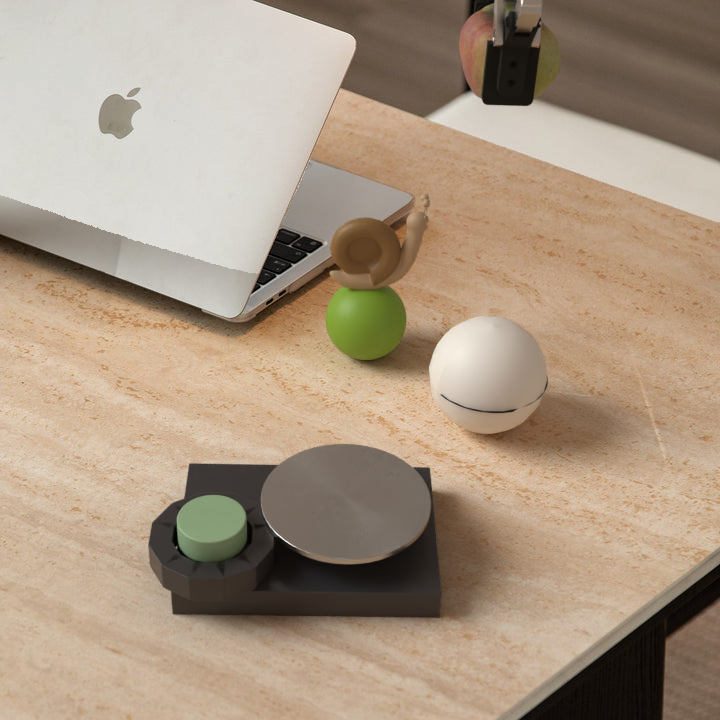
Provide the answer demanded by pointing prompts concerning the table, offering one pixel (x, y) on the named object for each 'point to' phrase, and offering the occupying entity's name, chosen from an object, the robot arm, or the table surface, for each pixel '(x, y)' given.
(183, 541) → the tare button
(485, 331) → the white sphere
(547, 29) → the apple
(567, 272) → the table surface
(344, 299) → the snail figurine
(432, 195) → the table surface
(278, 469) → the weighing pan
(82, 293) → the table surface
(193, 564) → the scale
